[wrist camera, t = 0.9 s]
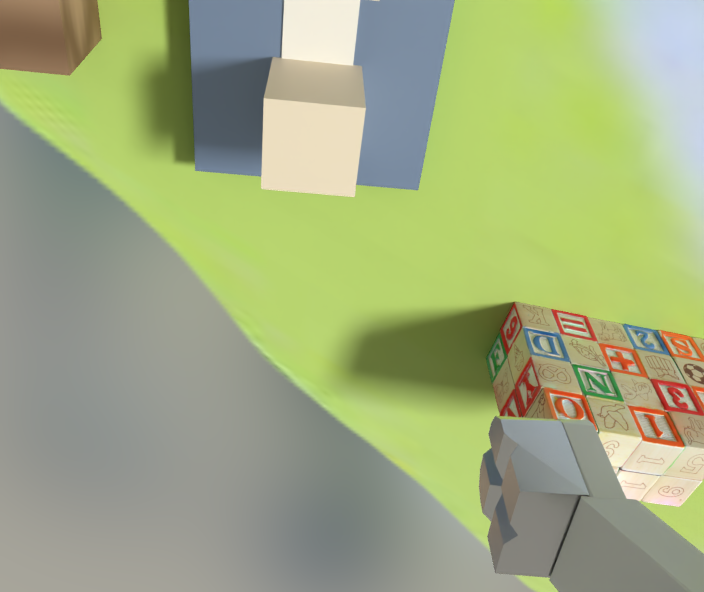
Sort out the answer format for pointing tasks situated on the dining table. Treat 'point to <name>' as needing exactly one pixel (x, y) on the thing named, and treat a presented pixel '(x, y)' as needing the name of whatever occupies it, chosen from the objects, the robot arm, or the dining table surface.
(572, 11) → the dining table surface
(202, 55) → the board
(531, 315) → the stack of blocks
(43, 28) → the walnut beam
